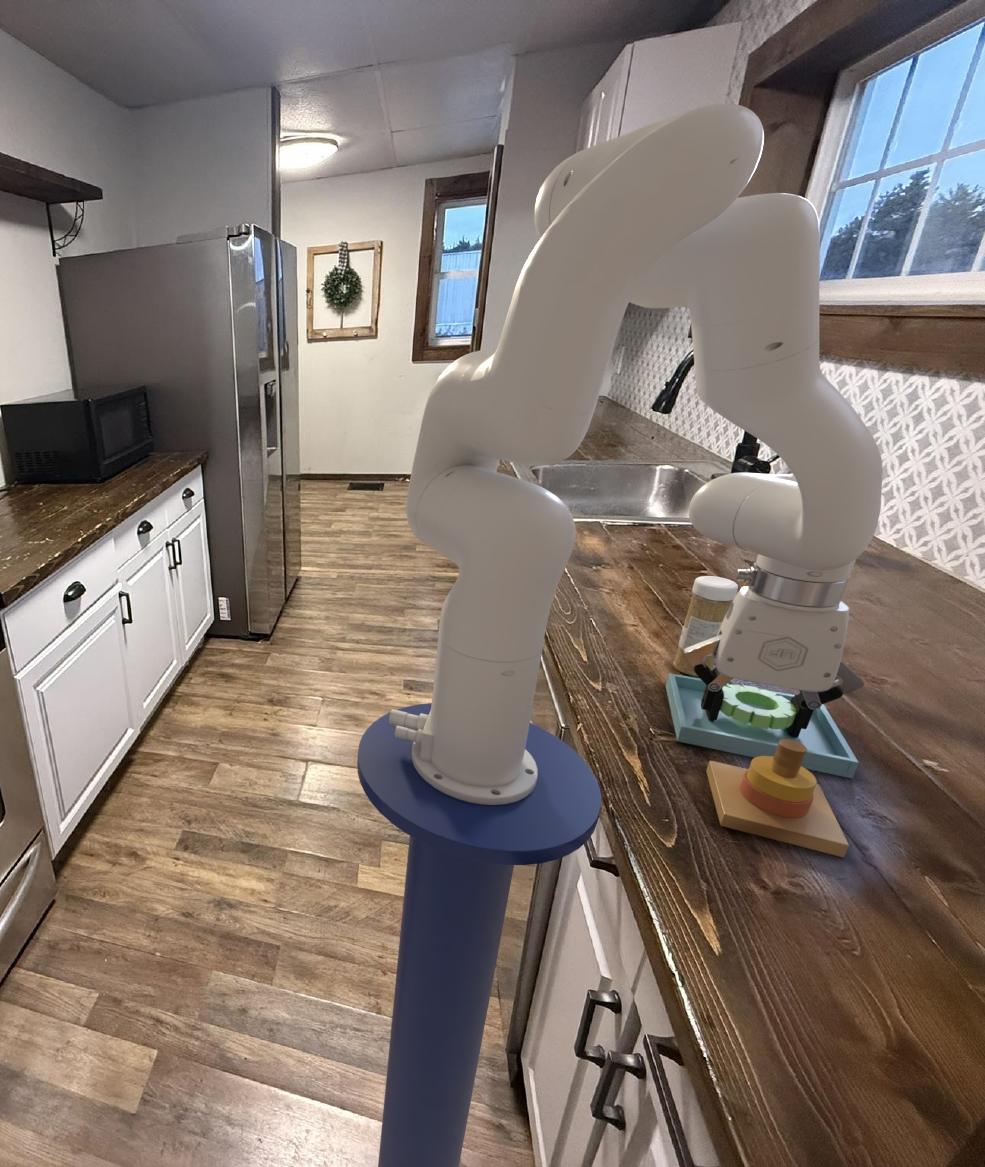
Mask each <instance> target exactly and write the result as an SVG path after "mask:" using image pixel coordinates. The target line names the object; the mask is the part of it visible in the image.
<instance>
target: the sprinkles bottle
mask: <svg viewBox="0 0 985 1167" xmlns="http://www.w3.org/2000/svg"><path fill="white" fill-rule="evenodd" d="M738 591H739V585H738V584H737V583H736V581H734V580H731V579H728V578H726V577H721V576H714V575H702V576H698V577H696V578H695V579H694V582H693V585H692V589H691V592H692V593H691V594H692V596H691V599H690V602H689V606H688V610H687V613H686V617H685V620H684V623H683V626H682V630H681V634H680V637H679V641H678V647H677V651H676V654H675V658H674V660H673V662H672V666H673V667H674V668H675V670H677V671H679V672H681V673H683V674H685V675H688V676H691V677H698V675H697V674H696V673H695V671H694V670H693V668H691V666H690V665H689V664H688V662H687V661H686V660H685V659H684V657H683V653H682V650H683V649H685V648H687V647H690V646H692V645H695V644H698V643H700V642H703V641H705V640H708V639H710V638H713V637H715V636H717V634H718V632H719V629H720V627H721V625H722V622H723V620H724V618H725V615H726V613H727V611H728V609H729V607H730V605H731V604H732V602H733V600H734V598H735V597H736V595H737V593H738ZM701 660H702V661H703V662H704V663H705V664H706V665H707V666H708V667H709V668H710V669H712V668H713V667H714V666H715V662H716V659H715V658H714V657H713V655H712V653H711V654H709V655H706V656H704V657H702V658H701Z"/></svg>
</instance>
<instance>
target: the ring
mask: <svg viewBox="0 0 985 1167" xmlns="http://www.w3.org/2000/svg"><path fill="white" fill-rule="evenodd" d="M722 689H723V692H724V698H723V701H722V705H721V708H720V711H721V712H723V713H724V714H725V715H727V716H728V717H732V719H734V720H737V721H739V722H742V723H744V724H748V723H751V726H755V727H760V728H765V729H768V727H769V728H771V729H785V727H786V728H788V727H789V726H790V725H792V724H793V722H794V719H795V716H796V714H797V712H796V709H795V708H794V706H793V704H791V703H792V702H790V701H789V700H787V699H785V698H784V697H782V696H777V694H776V693H773V692H770V691H771V690H769V691H767V690H768V689H764V688H759V687H758V686H752V685H747V684H745V685H744V684H742V685H740V684H734V685H727V687H726V686H724V687H723V688H722ZM759 689H761V690H760V691H759ZM743 703H749V704H755V705H758V706H760V707H763V708H766V709H767V710H763V709H758V708H753V707H751V706H748V705H745V704H743Z"/></svg>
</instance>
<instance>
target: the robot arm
mask: <svg viewBox="0 0 985 1167" xmlns="http://www.w3.org/2000/svg"><path fill="white" fill-rule="evenodd" d="M764 131H765V130H764V126H763V124H762V121H761V119H760V118H759V116H758V115H757V114H756V113H755V112H754V111H753V110H751V109H750V108H748V107H746V106H744V105H740V104H736V103H714V104H708V105H702V106H698V107H694V108H693V109H689V110H686V111H683V112H679V113H677V114H674V115H671V116H669V117H667V118H663V119H659V120H658V121H655V122H653V123H652V122H651V123H649V124H646V125H644V126H642V127H639V128H637V129H635V130H633V131H630V132H627V133H625V134H622V135H619V136H616V137H615V138H612V139H608V140H606V141H603V142H601V143H597V144H595V145H592V146H589V147H587V148H584V149H582V150H580V151H577V152H576V153H574V154H572V155H570V156H568V157H567V158H565V159H564V160H562V161H561V162H560V163H559V164H558V165H556V166H555V167H554V168H553V170H552V171H551V172H550V173H549V175H547V177H546V178H545V180H544V182H543V183H542V184H541V186H540V188H539V191H538V194H537V196H536V199H535V204H534V218H533V219H534V225H535V226H534V227H535V230H536V233H537V235H538V238H539V240H538V241H537V243H536V244H535V245H534V248H533V249H532V251H531V253H530V254H529V255H528V258H527V259H526V261H525V263H524V265H523V268H522V269H521V271H520V274H519V277H518V279H517V281H516V284H515V287H514V291H513V293H512V298H511V301H510V304H509V307H508V310H507V314H506V317H505V321H504V324H503V327H502V331H501V334H500V337H499V338H500V339H499V341H498V344H497V347H496V349H482V350H476V351H473V352H470V353H466V354H465V355H463V356H460V357H459V358H457V359H456V360H454V361H453V362H451V363H450V364H449V365H448V366H447V367H446V368H445V369H444V370H443V372H442V373H441V374H440V375H439V377H438V378H437V380H436V381H435V383H434V384H433V387H432V388H431V390H430V393H429V395H428V397H427V400H426V404H425V407H424V411H423V415H422V419H421V423H420V424H421V425H420V429H419V434H418V438H417V443H416V448H415V453H414V457H413V462H412V467H411V473H410V478H409V483H408V488H407V494H406V504H405V505H406V506H405V509H406V510H405V511H406V513H405V514H406V519H407V523H408V526H409V528H410V531H411V532H412V534H413V535H414V537H416V539H418V541H420V543H422V544H424V545H425V546H426V547H428V548H430V549H431V550H432V551H434V552H436V553H438V554H439V555H441V556H443V557H444V558H446V559H448V560H449V561H450V562H452V563H453V564H455V565H456V566H457V568H458V575H457V577H456V580H455V582H454V583H453V585H452V588H450V590H449V592H448V594H447V595H446V597H445V599H444V601H443V604H442V606H441V610H440V615H439V622H438V623H439V624H438V632H437V633H438V637H437V646H436V657H435V669H434V676H433V677H434V678H433V687H432V696H431V703H432V705H431V710H430V713H429V715H426V714H422V713H421V714H420V716H417V715H413V714H408V713H407V712H402V711H398V710H397V709H393V708H392V709H391V710H390V712H391V713H390V712H389V713H390V717H389V725H390V726H394V727H396V729H395V738H398V739H402V740H408V741H412V742H414V743H413V746H412V762H413V765H414V767H415V769H416V770H417V772H418V773H419V775H420V776H421V777H422V778H423V779H424V780H425V781H426V782H428V783H429V784H430V785H431V786H433V787H434V788H436V789H437V790H439V791H441V792H443V793H445V794H447V795H449V796H451V797H454V798H456V799H459V800H463V801H466V802H470V803H476V804H482V805H501V804H509V803H513V802H517V801H519V800H521V799H523V798H525V797H527V796H528V795H529V794H530V793H531V792H532V791H533V789H534V788H535V786H536V781H537V777H538V769H537V766H536V762H535V761H534V759H533V758H532V756H531V755H530V753H529V752H528V751H527V750H526V749H525V747H526V741H527V735H528V730H529V724H530V723H531V717H532V713H533V706H534V700H535V695H536V689H537V684H538V678H539V673H540V667H541V661H542V656H543V650H544V641H545V636H546V631H547V626H548V620H549V616H550V612H551V608H552V604H553V601H554V598H555V594H556V591H557V589H558V586H559V584H560V581H561V579H562V577H563V575H564V573H565V570H566V567H567V566H568V563H569V561H570V559H571V557H572V553H573V551H574V546H575V543H576V535H577V532H576V524H575V520H574V517H573V515H572V513H571V511H570V509H569V507H568V506H567V505H566V504H565V502H564V501H563V500H561V499H560V497H558V496H557V495H556V494H555V493H552V492H551V491H550V490H549V489H546V488H544V487H542V486H541V485H538V484H535V483H533V482H530V481H527V480H524V479H521V478H519V477H515V476H512V475H509V474H506V473H502V472H497V471H498V469H499V465H500V460H502V461H506V462H510V463H514V464H519V465H524V466H531V467H547V466H553V465H556V464H559V463H562V462H563V461H565V460H567V459H568V458H569V457H571V456H572V455H573V454H574V453H575V452H576V451H577V450H578V449H579V447H580V445H581V444H582V442H583V440H584V439H585V437H586V435H587V433H588V430H589V428H590V425H591V422H592V419H593V417H594V413H595V410H596V406H597V404H598V400H599V397H600V393H601V390H602V387H603V383H604V381H605V377H606V374H607V370H608V366H609V365H610V360H611V357H612V353H613V350H614V347H615V344H616V340H617V337H618V333H619V330H620V328H621V325H622V322H623V319H624V317H625V314H626V310H627V308H628V306H629V303H630V304H633V305H635V306H639V307H642V308H646V309H672V308H673V309H674V308H675V309H677V308H688V310H689V320H690V328H691V338H692V339H691V340H692V350H693V363H694V376H695V390H696V393H697V394H696V395H697V396H698V398H699V399H700V401H701V402H703V404H705V405H706V406H707V407H708V408H709V409H711V410H712V411H714V412H715V413H716V414H718V415H719V416H721V417H722V418H724V419H725V420H727V421H728V422H730V423H732V424H733V425H735V426H736V427H738V428H740V429H741V430H743V431H745V432H746V433H747V434H749V435H751V436H753V437H754V438H756V439H757V440H759V441H760V442H762V443H763V444H764V445H766V446H767V447H768V448H769V449H771V450H772V451H773V452H774V453H775V454H776V455H777V456H778V457H779V458H780V459H781V461H783V462H784V463H785V465H786V466H787V468H788V469H789V470H790V472H791V473H786V474H782V473H780V474H779V473H778V474H777V473H758V472H733V473H728V474H724V475H721V476H717V477H715V478H713V479H711V480H709V481H708V482H706V483H705V484H703V485H702V486H700V488H699V489H698V490H696V492H695V494H694V495H693V496H692V498H691V500H690V502H689V506H688V518H689V521H690V524H691V525H692V527H693V528H694V529H695V530H696V531H697V532H698V533H699V534H700V535H703V536H704V537H706V538H708V539H710V540H712V541H714V542H718V543H720V544H723V545H726V546H730V547H733V548H736V549H738V550H739V549H740V550H742V551H745V552H749V553H754V554H757V557H756V561H755V562H753V563H752V566H750V567H749V568H745V569H736V571H735V573H734V582H742V584H744V583H747V585H748V586H744V587H743V586H741V588H740V589H738V591H737V594H736V597H735V598H734V600H733V602H732V604H731V605H730V607H729V609H728V611H727V613H726V615H725V618H724V620H723V622H722V625H721V627H720V629H719V632H718V634H717V636H715V637H713V638H710V639H708V640H705V641H703V642H700V643H698V644H695V645H692V646H690V647H687V648H685V649H683V650H682V653H683V657H684V659H685V660H686V661H687V662H688V664H689V665H690V666H691V668H693V670H694V671H695V673H696V674H697V675H698V676H697V678H700V679H701V680H702V681H703V682H704V683H705V684H706V687H705V690H704V694H703V697H702V700H701V709H703V710H705V711H706V714H707V717H708V720H710V721H716V720H717V717H718V714H719V711H720V708H721V705H722V701H723V698H724V692H723V689H722V688H723V687H724V686H725V685H726V684H727V683H729V684H730V682H731V681H732V680H738V681H744V682H750V683H756V684H759V685H767V686H773V687H777V688H783V689H791V690H795V691H799V693H798V694H794V695H795V696H794V697H792V699H791V702H792V703H791V704H793V706H794V708H795V709H796V712H797V714H796V716H795V719H794V722H793V724H792V725H790V726H789V727H788V728H786V727H785V728H786V730H787V732H788V734H789V735H790V736H791V737H795V738H798V736H799V734H800V731H801V728H802V729H806V728H807V726H808V724H809V721H810V719H811V716H812V713H813V711H814V710H816V709H819V708H820V707H821V706H822V704H824V705H825V704H827V703H830V702H833V701H835V700H838V699H841V698H842V697H843V695H845V694H846V695H847V694H850V693H852V692H854V691H856V690H858V689H861V688H863V687H864V686H865V684H866V683H865V681H864V680H863V679H862V678H861V676H860V675H859V674H858V673H857V672H856V671H855V670H854V669H852V667H850V666H849V665H848V664H847V663H846V662H845V661H844V660H842V658H843V654H844V653H843V652H844V649H845V644H846V640H847V634H848V630H849V620H850V607H849V606H848V605H847V604H845V602H844V601H842V599H843V596H844V593H845V590H846V587H847V585H848V582H849V580H850V578H851V575H852V572H853V569H854V566H855V563H856V561H857V559H858V558H859V557H860V556H861V555H862V554H863V553H864V552H865V551H866V549H867V548H868V547H869V546H870V543H871V542H872V540H873V538H874V536H875V533H876V530H877V527H878V524H879V519H880V514H881V507H882V493H883V492H882V491H883V468H884V467H883V459H882V455H881V451H880V448H879V446H878V444H877V441H876V439H875V438H874V436H873V434H872V432H871V431H870V429H869V427H868V426H867V425H866V424H865V422H864V421H863V420H862V418H861V416H860V415H859V414H858V413H857V411H856V410H855V408H854V407H853V406H852V404H851V403H850V402H849V401H848V399H846V397H845V396H844V395H843V394H842V393H841V392H840V391H839V389H838V388H836V387H835V386H834V385H833V384H832V383H831V382H830V381H829V380H828V379H827V377H826V376H825V375H824V374H823V372H822V369H821V363H820V338H821V337H820V289H821V288H820V287H821V286H820V285H821V284H820V282H821V281H820V280H821V278H820V276H821V274H820V269H821V266H820V264H821V263H820V262H821V261H820V258H821V256H820V255H821V254H820V252H821V250H820V249H821V246H820V243H821V242H820V241H821V240H820V235H821V234H820V233H821V232H820V230H821V229H820V220H819V215H818V212H817V210H816V208H815V206H814V205H813V203H812V202H810V201H809V200H808V199H807V198H804V197H803V196H800V195H797V194H792V193H785V192H772V193H760V194H753V195H747V196H741V197H739V196H740V195H741V194H742V193H743V191H744V189H746V187H747V185H748V184H749V182H750V181H751V178H752V177H753V174H754V173H755V171H756V169H757V168H758V164H759V162H760V159H761V156H762V152H763V147H764V143H765V142H764V140H765V133H764ZM711 653H712V655H713V657H714V658H715V664H714V665H713V668H712V669H710V668H709V667H708V666H707V665H706V664H705V663H704V662H703V661H702V660H701V658H702V657H704V656H706V655H709V654H711ZM837 677H838V678H837ZM836 678H837V679H836Z"/></svg>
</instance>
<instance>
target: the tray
mask: <svg viewBox="0 0 985 1167" xmlns="http://www.w3.org/2000/svg"><path fill="white" fill-rule="evenodd" d="M727 685H735V684H733V683H730V682H729V683H727V684H726V685H725V686H726V687H727ZM705 687H706V684H705V683H704V682H703V681H702V680H701V679H700V678H699V677H695V676H689V675H688V676H687V675H682V674H676V673H675V674H674V673H668V676H667V680H666V684H665V690H666V695H667V700H668V704H669V705H668V706H669V709H670V714H671V718H672V723H673V729H674V732H675V738H676V742H679V743H685V744H689V745H693V746H696V747H697V746H698V747H702V748H706V749H707V748H708V749H712V750H717V751H721V752H727V753H731V754H736V755H741V756H744V757H750V758H752V759H754V758H756V757H759V756H772V757H774V755H775V752H776V749H777V746H778V744H779V741H780V740H782V739H790V740H794V741H797V742H799V743H801V744H803V745H804V746H806V748H807V752H806V754H805V757H804V759H803V762H802V765H801V766H802V767H804V768H805V769H807V770H809V771H815V772H820V773H824V774H829V775H832V776H833V775H834V776H838V777H843V778H848V779H854V775H855V773H856V772H857V768H858V767H859V764H860V762H859V760H858V758H857V757H856V755H855V754H854V752H853V750H852V749H851V748H850V746H849V744H848V743H847V741H846V739H845V737H844V735H843V734H842V732H841V730H840V729H839V727H838V726H837V724H836V722H835V721H834V718H833V717H832V715H831V714H830V712H829V711H828V709H827V707H826V705H825V704H822V706H821V707H820V708H819V709H816V710H814V711H813V713H812V716H811V719H810V721H809V724H808V726H807V728H806V729H802V728H801V731H800V734H799V736H798V738H795V737H791V736H790V735H789V734H788V732H787V730H786V728H785V729H771V728H769V727H768V729H765V728H760V727H755V726H751V723H748V724H744V723H742V722H739V721H737V720H734V719H732V717H728V716H727V715H725V714H724V713H723V712H721V711H719V714H718V717H717V720H716V721H710V720H708V717H707V714H706V711H705V710H703V709H701V700H702V697H703V694H704V690H705ZM758 689H759V691H760V690H761V689H762V688H758ZM766 690H767V691H770V692H773V693H776V694H777V696H782V697H784V698H785V699H787V700H789V701H790V702H791V699H792V697H794V696H795V695H796V694H791V693H786V692H780V691H774V690H769V689H766ZM743 704H745V705H748V706H751V707H753V708H758V709H763V710H767V709H766V708H763V707H760V706H758V705H755V704H749V703H743Z"/></svg>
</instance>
